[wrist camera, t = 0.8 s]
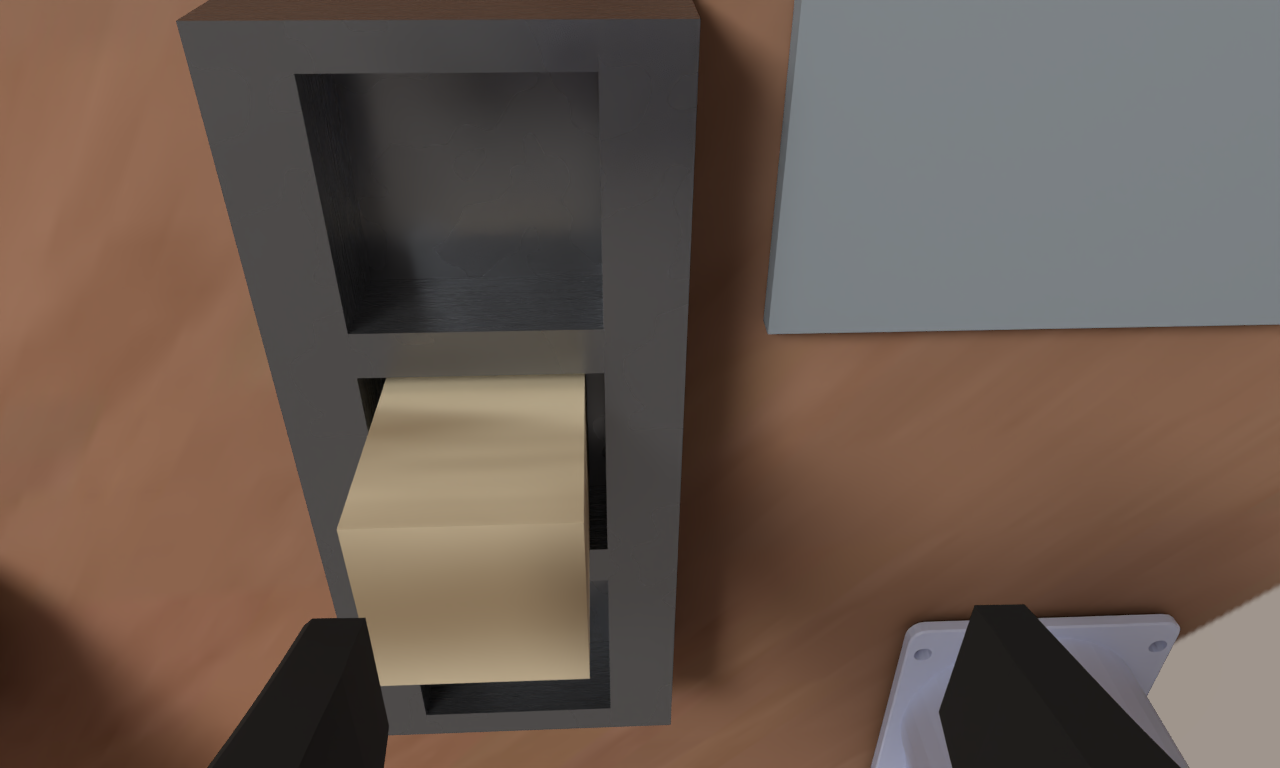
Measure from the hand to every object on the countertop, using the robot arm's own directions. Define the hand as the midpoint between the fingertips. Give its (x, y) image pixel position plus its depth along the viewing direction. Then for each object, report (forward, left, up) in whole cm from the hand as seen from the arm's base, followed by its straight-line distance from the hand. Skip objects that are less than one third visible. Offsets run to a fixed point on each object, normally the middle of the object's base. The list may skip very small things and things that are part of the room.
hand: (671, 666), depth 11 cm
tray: (-3, +3, -10) cm, 11 cm away
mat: (+5, -9, -10) cm, 14 cm away
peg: (-3, +3, -10) cm, 11 cm away
